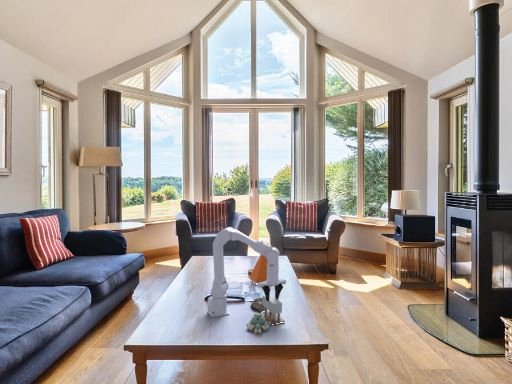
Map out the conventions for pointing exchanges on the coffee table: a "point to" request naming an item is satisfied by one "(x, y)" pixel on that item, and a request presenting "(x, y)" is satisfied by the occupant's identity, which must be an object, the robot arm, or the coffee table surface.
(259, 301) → the geode
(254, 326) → the stuffed animal
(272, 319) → the peg stand
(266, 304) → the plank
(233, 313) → the coffee table surface
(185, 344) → the coffee table surface
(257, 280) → the pyramid
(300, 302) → the coffee table surface
